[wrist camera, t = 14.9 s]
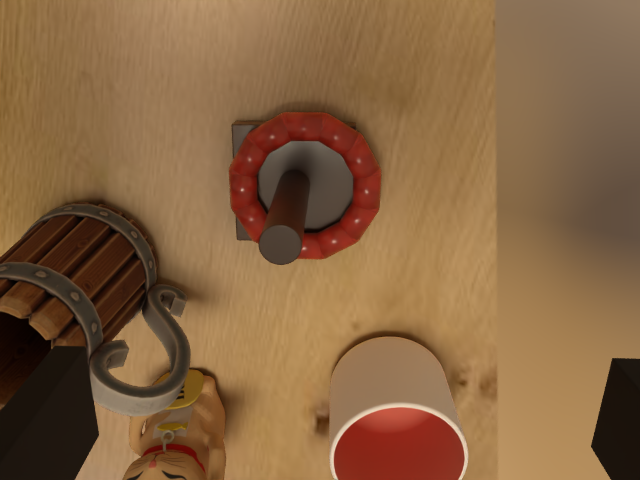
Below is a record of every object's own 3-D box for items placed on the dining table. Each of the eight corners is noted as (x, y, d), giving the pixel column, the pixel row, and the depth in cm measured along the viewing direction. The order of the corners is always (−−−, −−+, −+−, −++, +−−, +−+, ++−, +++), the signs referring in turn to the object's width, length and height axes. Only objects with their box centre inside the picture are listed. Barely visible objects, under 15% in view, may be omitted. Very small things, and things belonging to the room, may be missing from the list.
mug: (19, 289, 48) (-110, 401, 34) (49, 177, 44) (-83, 251, 30) (195, 354, 50) (141, 485, 36) (237, 252, 46) (195, 353, 32)
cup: (395, 442, 53) (408, 533, 43) (307, 388, 51) (302, 471, 41) (467, 369, 50) (498, 450, 40) (376, 309, 48) (387, 379, 38)
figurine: (236, 353, 50) (198, 485, 36) (251, 442, 53) (222, 594, 39) (140, 360, 50) (65, 492, 36) (161, 448, 54) (101, 600, 40)
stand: (239, 233, 46) (203, 315, 33) (234, 120, 42) (193, 163, 30) (351, 235, 45) (359, 318, 33) (355, 122, 42) (365, 166, 30)
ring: (235, 251, 45) (230, 261, 43) (228, 109, 41) (223, 113, 39) (375, 254, 44) (377, 264, 42) (382, 111, 40) (385, 115, 38)
